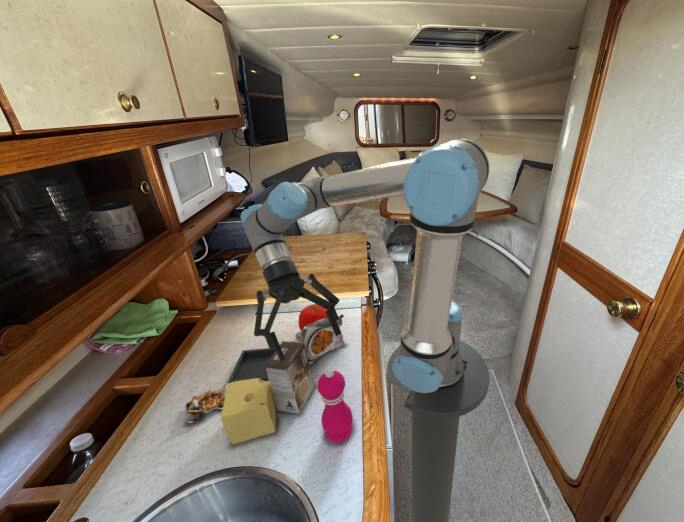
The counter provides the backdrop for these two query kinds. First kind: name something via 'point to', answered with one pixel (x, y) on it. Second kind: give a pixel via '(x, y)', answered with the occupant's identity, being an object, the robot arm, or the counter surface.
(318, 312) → the tomato
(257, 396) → the cheese
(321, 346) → the meal
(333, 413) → the pepper mill
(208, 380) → the counter surface
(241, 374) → the spice tray
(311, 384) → the coffee box
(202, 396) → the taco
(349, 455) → the counter surface
